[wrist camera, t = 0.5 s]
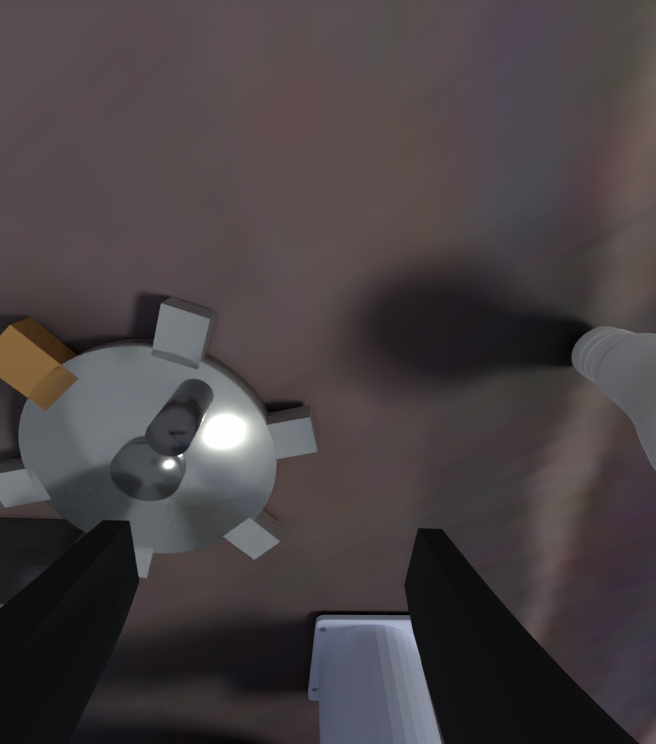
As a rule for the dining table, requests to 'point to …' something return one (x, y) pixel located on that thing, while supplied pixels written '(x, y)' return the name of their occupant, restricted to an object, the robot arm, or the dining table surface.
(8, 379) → the sprocket
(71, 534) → the banded cube
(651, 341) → the lightbulb
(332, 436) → the dining table surface
